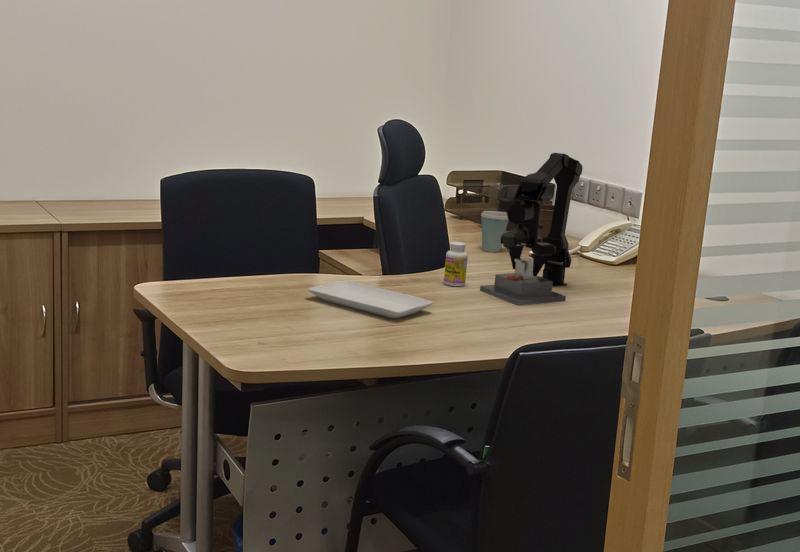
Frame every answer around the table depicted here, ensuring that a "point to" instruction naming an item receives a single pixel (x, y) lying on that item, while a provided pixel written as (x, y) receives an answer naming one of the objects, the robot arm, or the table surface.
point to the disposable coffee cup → (493, 229)
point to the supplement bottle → (456, 265)
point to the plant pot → (545, 220)
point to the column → (524, 268)
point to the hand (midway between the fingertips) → (524, 272)
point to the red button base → (522, 290)
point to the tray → (370, 298)
